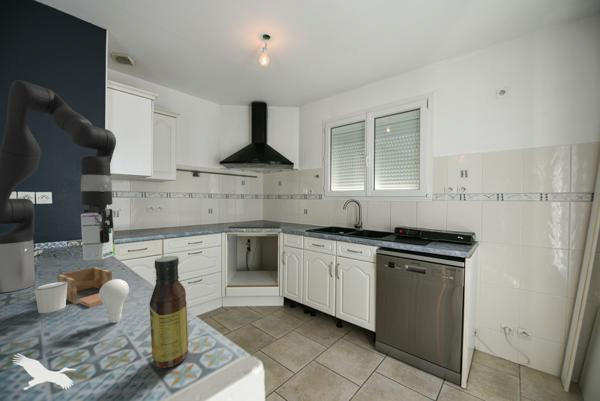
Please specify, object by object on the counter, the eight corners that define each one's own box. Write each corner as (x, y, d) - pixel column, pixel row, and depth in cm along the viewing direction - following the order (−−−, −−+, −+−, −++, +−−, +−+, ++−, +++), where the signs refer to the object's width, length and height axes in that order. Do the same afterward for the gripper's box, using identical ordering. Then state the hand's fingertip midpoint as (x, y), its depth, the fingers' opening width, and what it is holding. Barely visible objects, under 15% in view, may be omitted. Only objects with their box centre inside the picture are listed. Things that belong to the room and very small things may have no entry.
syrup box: (102, 259, 74) (101, 212, 74) (81, 260, 74) (80, 213, 73) (115, 255, 80) (113, 211, 80) (96, 256, 79) (94, 212, 79)
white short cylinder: (47, 315, 67) (46, 290, 67) (28, 313, 69) (27, 288, 68) (74, 304, 74) (73, 281, 74) (57, 303, 75) (56, 280, 75)
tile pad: (79, 302, 75) (78, 298, 75) (110, 293, 82) (110, 289, 82) (89, 307, 71) (89, 303, 71) (122, 297, 78) (121, 293, 78)
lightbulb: (135, 318, 64) (134, 276, 64) (110, 330, 58) (109, 285, 58) (119, 315, 66) (118, 275, 66) (93, 326, 60) (92, 282, 60)
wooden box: (58, 295, 81) (57, 274, 81) (95, 285, 90) (95, 267, 90) (73, 303, 75) (72, 280, 75) (112, 291, 84) (111, 271, 84)
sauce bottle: (162, 350, 50) (158, 254, 50) (193, 348, 50) (190, 252, 50) (144, 373, 43) (140, 262, 43) (180, 370, 44) (177, 261, 44)
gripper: (72, 190, 77) (74, 242, 77) (92, 189, 70) (93, 245, 70) (101, 191, 83) (102, 238, 83) (121, 189, 76) (123, 241, 76)
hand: (98, 241), depth 77 cm, fingers closed on syrup box, 7 cm apart
